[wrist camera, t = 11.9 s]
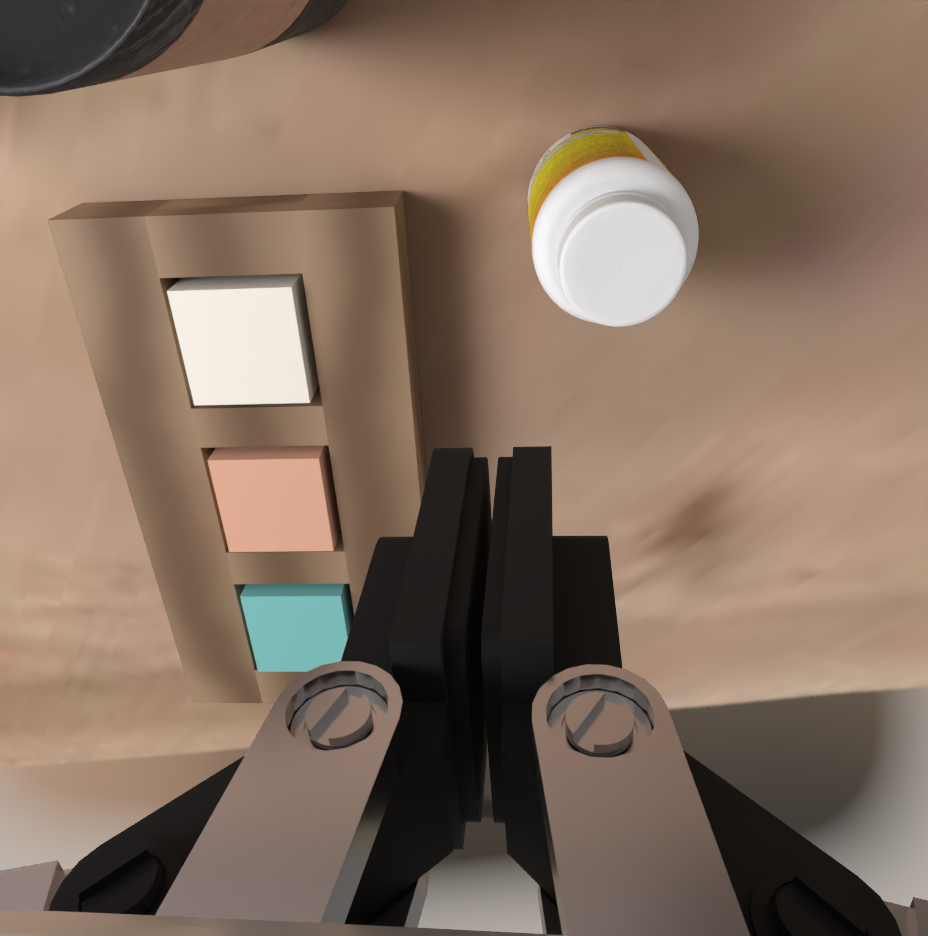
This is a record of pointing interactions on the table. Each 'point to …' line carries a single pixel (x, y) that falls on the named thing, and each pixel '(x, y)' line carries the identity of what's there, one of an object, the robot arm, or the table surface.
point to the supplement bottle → (609, 227)
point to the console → (250, 425)
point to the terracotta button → (276, 498)
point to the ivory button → (245, 339)
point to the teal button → (297, 624)
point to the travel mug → (137, 37)
